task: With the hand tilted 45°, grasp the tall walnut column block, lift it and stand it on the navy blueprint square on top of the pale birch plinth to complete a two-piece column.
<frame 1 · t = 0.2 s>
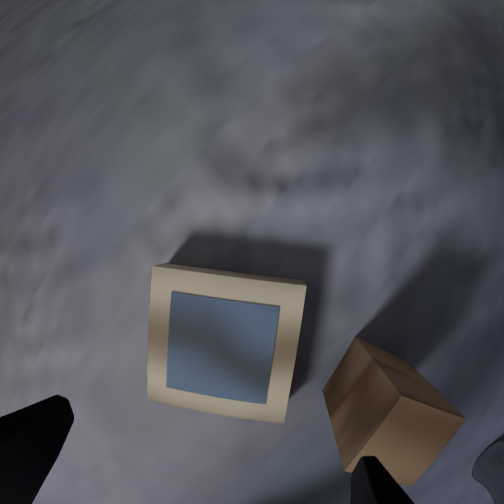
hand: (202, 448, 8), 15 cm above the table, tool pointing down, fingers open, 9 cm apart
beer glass: (491, 458, 21), on the table
birch plinth: (226, 337, 23), on the table
walnut column: (364, 375, 22), on the table
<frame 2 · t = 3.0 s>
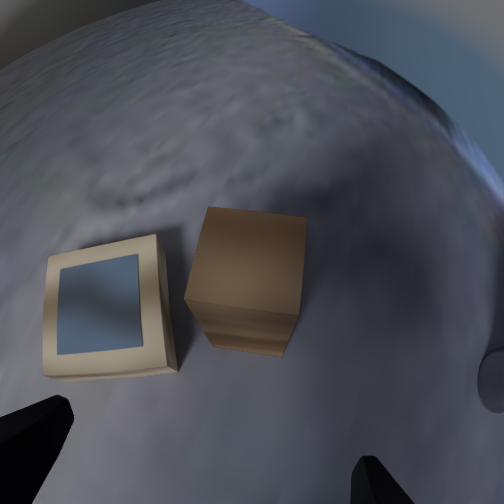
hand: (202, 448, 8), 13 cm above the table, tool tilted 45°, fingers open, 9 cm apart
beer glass: (499, 380, 19), on the table
birch plinth: (112, 317, 23), on the table
walnut column: (252, 319, 23), on the table
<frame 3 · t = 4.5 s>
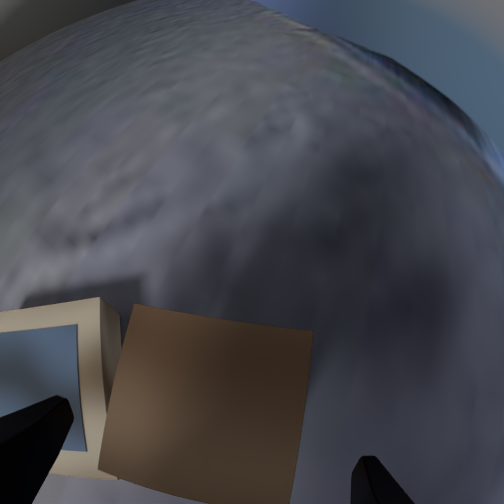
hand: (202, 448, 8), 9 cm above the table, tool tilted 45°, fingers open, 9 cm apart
birch plinth: (58, 394, 16), on the table
walnut column: (232, 413, 16), on the table
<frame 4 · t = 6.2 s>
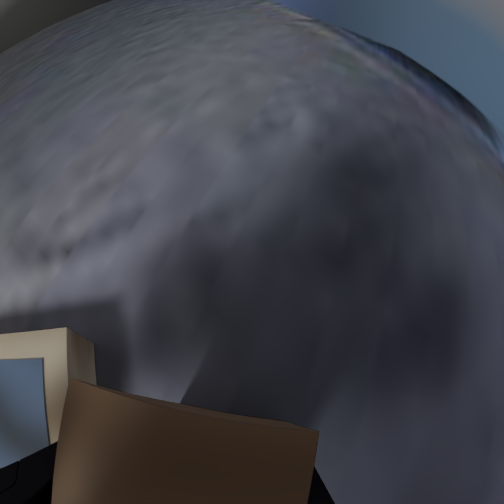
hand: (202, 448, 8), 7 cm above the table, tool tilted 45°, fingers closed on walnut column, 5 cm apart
birch plinth: (33, 427, 13), on the table
walnut column: (221, 460, 13), on the table, touching gripper
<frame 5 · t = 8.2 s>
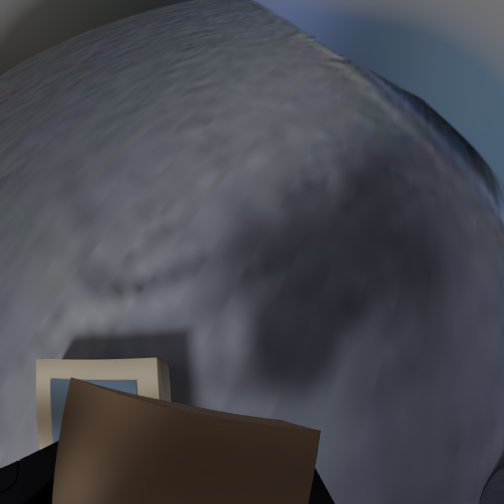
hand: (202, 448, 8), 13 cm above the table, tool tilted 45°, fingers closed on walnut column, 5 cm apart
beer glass: (501, 491, 14), on the table
birch plinth: (111, 430, 19), on the table
walnut column: (221, 459, 13), point 7 cm above the table, touching gripper
when the fingers open (11 cm above the table, at t = 10.3 s): walnut column drops 1 cm, resting on birch plinth.
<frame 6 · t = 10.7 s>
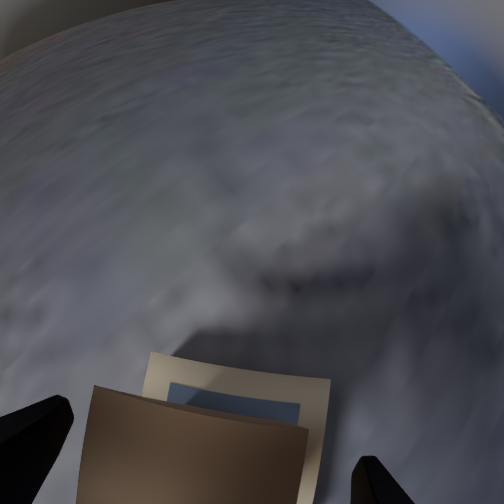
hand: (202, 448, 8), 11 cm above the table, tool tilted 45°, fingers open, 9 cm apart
birch plinth: (228, 450, 16), on the table
walnut column: (223, 457, 14), point 3 cm above the table, touching birch plinth
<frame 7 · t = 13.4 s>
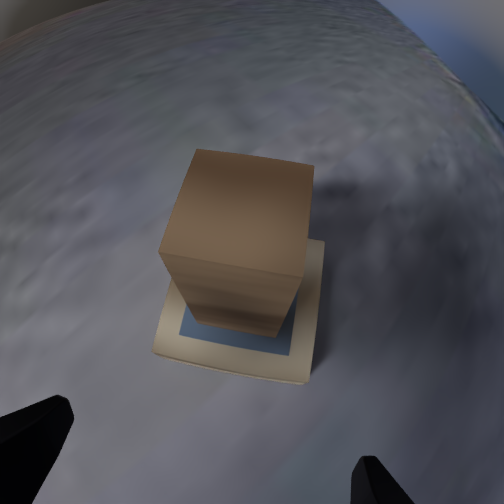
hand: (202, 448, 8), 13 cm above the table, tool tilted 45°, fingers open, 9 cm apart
birch plinth: (243, 307, 23), on the table
walnut column: (243, 294, 21), point 3 cm above the table, touching birch plinth
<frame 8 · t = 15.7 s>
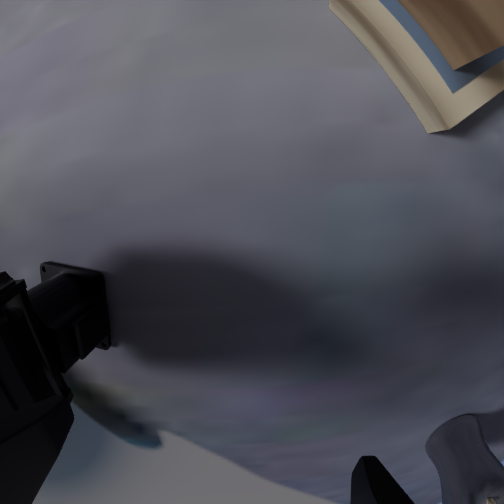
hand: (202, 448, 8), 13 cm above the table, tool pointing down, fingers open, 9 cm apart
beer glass: (451, 434, 22), on the table
birch plinth: (432, 36, 14), on the table
walnut column: (451, 20, 11), point 3 cm above the table, touching birch plinth
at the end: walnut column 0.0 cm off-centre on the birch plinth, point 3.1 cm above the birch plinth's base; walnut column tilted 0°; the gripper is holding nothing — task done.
